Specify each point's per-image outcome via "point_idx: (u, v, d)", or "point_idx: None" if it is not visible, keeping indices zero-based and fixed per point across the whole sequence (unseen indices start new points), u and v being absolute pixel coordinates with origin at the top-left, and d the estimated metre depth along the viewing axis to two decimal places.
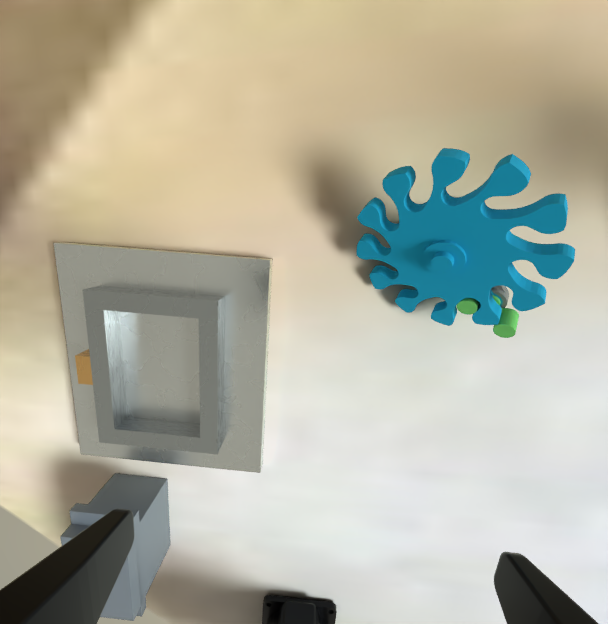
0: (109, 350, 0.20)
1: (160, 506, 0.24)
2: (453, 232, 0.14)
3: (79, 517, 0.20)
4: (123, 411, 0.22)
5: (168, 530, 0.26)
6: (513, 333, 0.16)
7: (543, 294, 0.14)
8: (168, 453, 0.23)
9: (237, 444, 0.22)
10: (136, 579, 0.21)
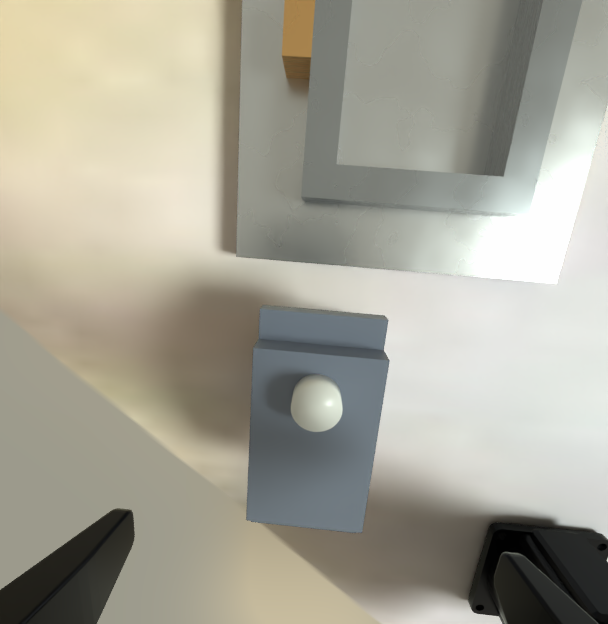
0: None
1: None
2: None
3: (277, 323, 0.11)
4: None
5: None
6: None
7: None
8: (395, 249, 0.13)
9: (528, 225, 0.13)
10: None
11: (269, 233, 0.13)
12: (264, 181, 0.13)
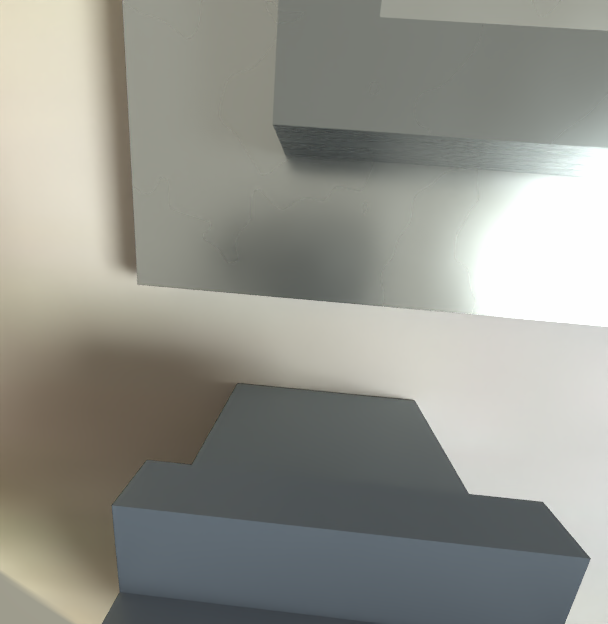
0: None
1: None
2: None
3: (179, 551, 0.03)
4: None
5: None
6: None
7: None
8: (502, 269, 0.06)
9: None
10: None
11: (209, 232, 0.06)
12: (191, 106, 0.05)
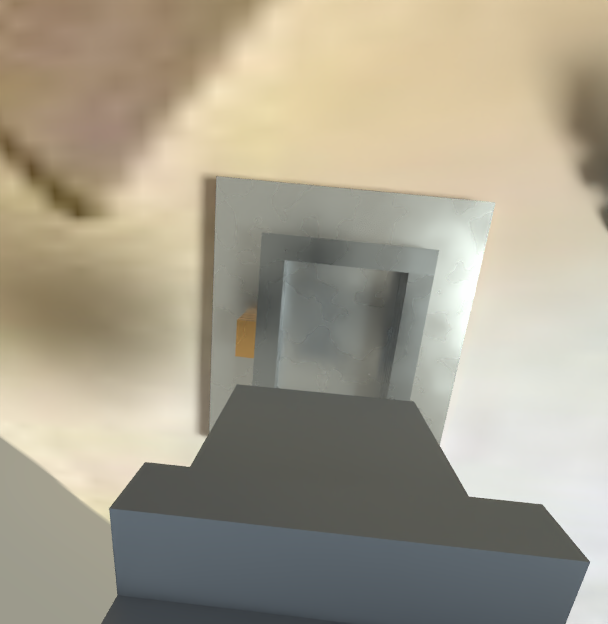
0: None
1: None
2: None
3: (177, 554, 0.03)
4: None
5: None
6: None
7: None
8: None
9: None
10: None
11: None
12: None
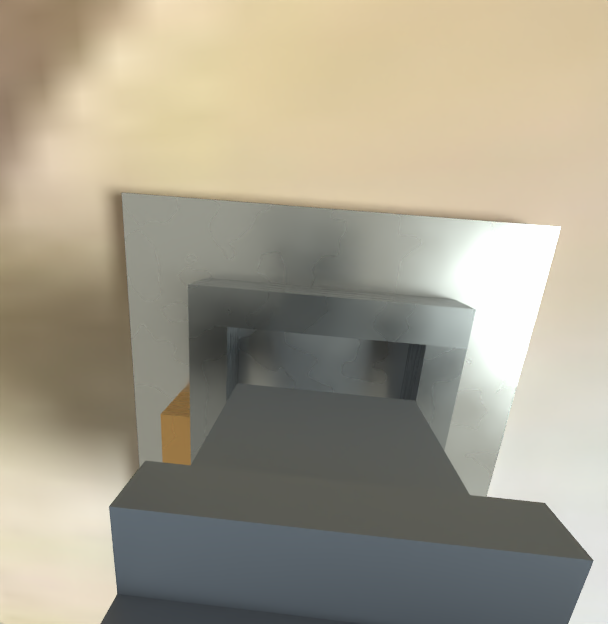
0: None
1: None
2: None
3: (177, 553, 0.03)
4: None
5: None
6: None
7: None
8: None
9: None
10: None
11: None
12: None
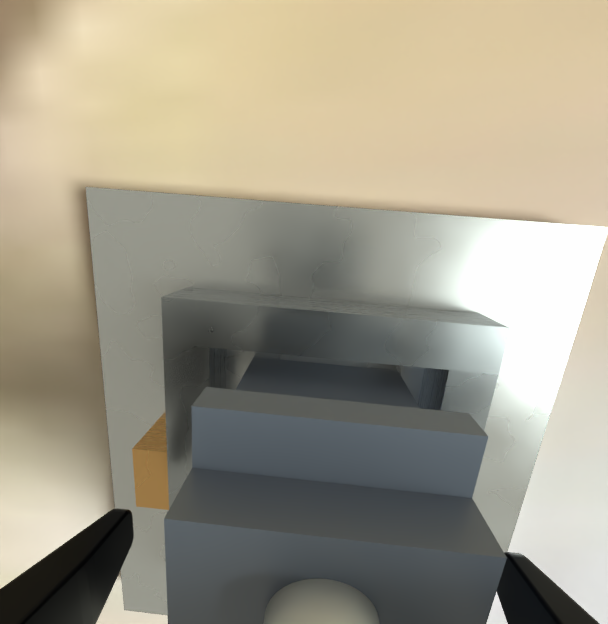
0: None
1: None
2: None
3: (232, 437, 0.05)
4: None
5: None
6: None
7: None
8: None
9: None
10: None
11: (158, 593, 0.12)
12: (147, 551, 0.11)
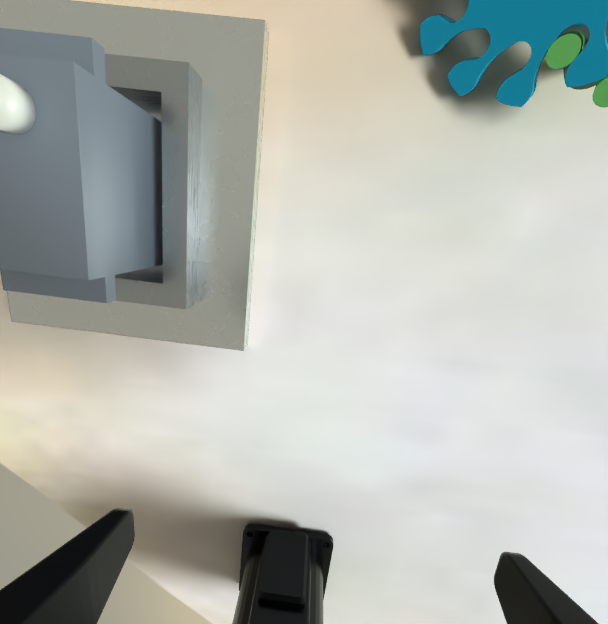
0: None
1: (147, 149, 0.14)
2: None
3: None
4: None
5: (159, 231, 0.16)
6: None
7: None
8: (124, 321, 0.18)
9: (214, 309, 0.17)
10: (96, 200, 0.11)
11: (32, 306, 0.18)
12: None
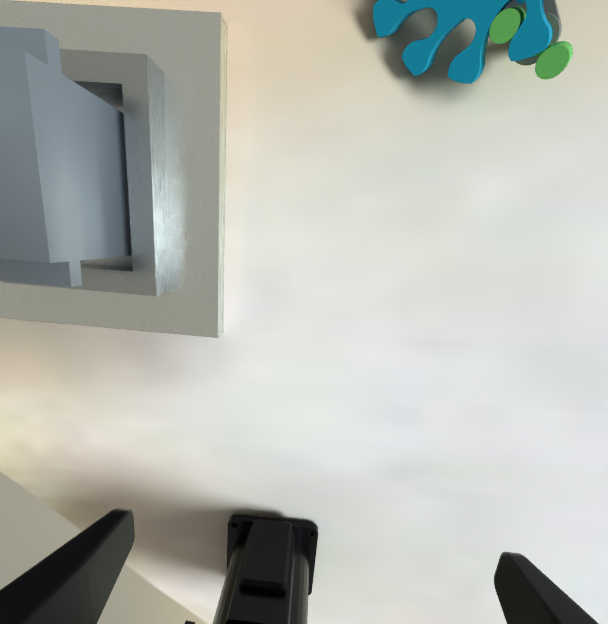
0: None
1: (112, 140, 0.14)
2: None
3: None
4: None
5: (129, 221, 0.16)
6: (565, 62, 0.12)
7: None
8: (100, 312, 0.18)
9: (187, 297, 0.17)
10: (56, 185, 0.12)
11: (10, 300, 0.18)
12: None
